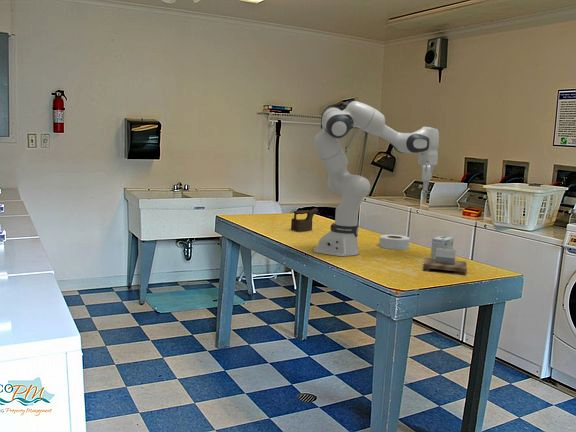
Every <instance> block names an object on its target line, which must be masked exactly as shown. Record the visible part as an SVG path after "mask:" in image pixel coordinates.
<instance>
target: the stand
mask: <svg viewBox="0 0 576 432" xmlns="http://www.w3.org/2000/svg"><path fill="white" fill-rule="evenodd" d="M423 269H424V272H429V271H430V270H431V269H432V270H433V269H434V270H443V271H452V272H459V275H462V276H465V275H466V273H467V272H468V271H467V270H468V267H467V261H465V260H464V261H463V260H455V264H454V265H449V264H440V263H435V259H434V258H431V257H424V261H423Z"/></svg>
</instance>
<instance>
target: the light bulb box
mask: <svg viewBox="0 0 576 432" xmlns="http://www.w3.org/2000/svg"><path fill="white" fill-rule="evenodd" d="M454 239H455V238H454V237H452V236H445V235H439V236H435V237H432V239H431V253H430V258H434V259H436V249H437V248H445V249H453V248H454Z"/></svg>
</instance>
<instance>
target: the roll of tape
mask: <svg viewBox="0 0 576 432" xmlns="http://www.w3.org/2000/svg"><path fill="white" fill-rule="evenodd" d="M410 238H411V237H409V236H406V235H400V234H382V235H380V236H379V242H378V243H379V248H382V249H386V250H393V251H403V250H409V249H410V244H411V243H410V242H411V241H410V240H411V239H410Z"/></svg>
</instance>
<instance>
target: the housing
mask: <svg viewBox="0 0 576 432" xmlns="http://www.w3.org/2000/svg"><path fill="white" fill-rule="evenodd" d="M456 251H457V249H445V248H437V249H436V259H435V263H440V264H449V265H454V264H455V261H456V254H457V253H456Z"/></svg>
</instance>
